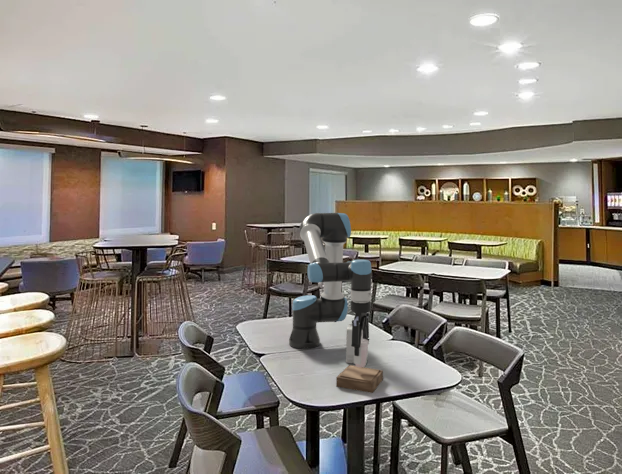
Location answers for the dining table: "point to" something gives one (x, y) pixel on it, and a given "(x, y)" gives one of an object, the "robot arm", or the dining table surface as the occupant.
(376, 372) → the walnut tray
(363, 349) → the smoothie
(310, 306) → the robot arm
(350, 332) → the supplement box
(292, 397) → the dining table surface
